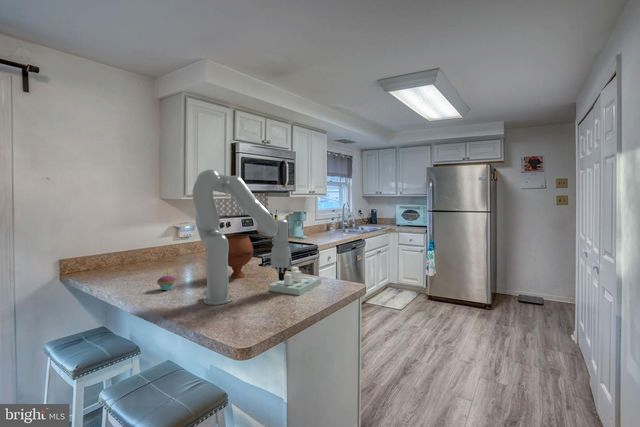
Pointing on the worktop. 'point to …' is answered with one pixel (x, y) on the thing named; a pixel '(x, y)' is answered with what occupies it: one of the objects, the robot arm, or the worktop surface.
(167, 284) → the cupcake
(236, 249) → the goblet
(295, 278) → the switch
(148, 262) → the worktop surface
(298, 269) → the switch
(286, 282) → the switch
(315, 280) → the switch box
